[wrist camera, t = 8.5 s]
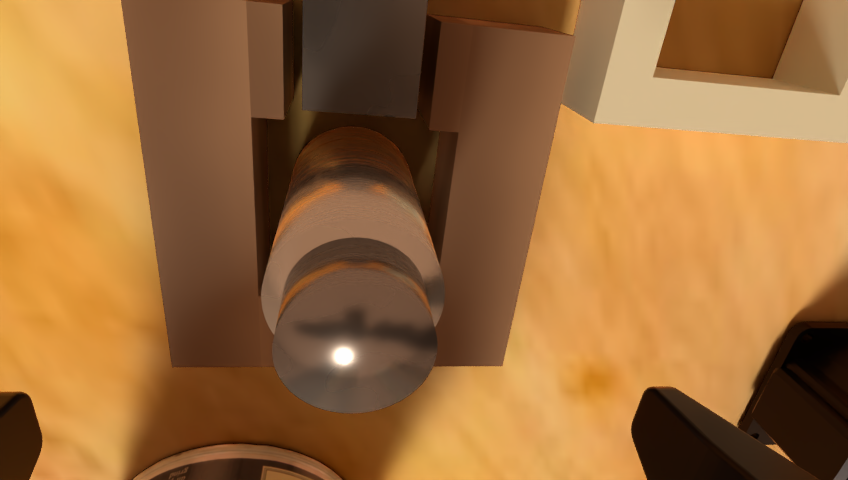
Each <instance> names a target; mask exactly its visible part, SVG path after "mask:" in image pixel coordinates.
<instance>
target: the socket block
mask: <svg viewBox="0 0 848 480" xmlns="http://www.w3.org/2000/svg"><path fill="white" fill-rule="evenodd" d="M121 3H122V10H123V17H124V24H125V32H126V39H127V46H128V53H129V60H130V68H131V75H132V82H133V89H134V96H135V104H136V111H137V118H138V125H139V132H140V139H141V147H142V154H143V161H144V168H145V175H146V183H147V190H148V197H149V204H150V211H151V219H152V226H153V233H154V240H155V247H156V254H157V262H158V269H159V276H160V283H161V290H162V298H163V305H164V312H165V319H166V326H167V334H168V341H169V348H170V355H171V362H172V367H274V363H273V357H272V344H273V339H274V334H273V333H272V331H271V330H270V328H269V326H268V324H267V322H266V319H265V316H264V313H263V309H262V302H261V291H262V284H263V279H264V275H265V272H266V268H267V264H268V261H269V257H270V227H269V191H268V155H267V119H281V120H284V118H285V116H286V114H287V111H288V109H289V107H290V104H291V102H292V100H293V98H294V75H293V0H121ZM575 37H576V36H572V35H569V34H565V33H562V32H558V31H554V30H551V29H547V28H544V27H539V26H529V25H520V24H511V23H502V22H493V21H484V20H475V19H466V18H457V17H448V16H439V15H430V14H427V15H426V25H425V35H424V45H423V55H422V65H421V75H420V85H419V94H418V104H417V108H418V110H419V112H420V114H421V116H422V118H423V119H424V121H425V123H426V125H427V127H428V129H429V130H432V131H440V133H439V142H438V150H437V158H436V166H435V174H434V182H433V190H432V199H431V207H430V215H429V223H428V230H429V233H430V237H431V240H432V243H433V246H434V249H435V252H436V256H437V259H438V262H439V265H440V268H441V271H442V275H443V279H444V285H445V300H444V306H443V310H442V313H441V316H440V319H439V321H438V323H437V325H436V326H435V331H436V335H437V343H438V347H437V355H436V360H435V363H434V365H433V366H502V365H503V360H504V356H505V351H506V347H507V342H508V338H509V333H510V329H511V325H512V320H513V316H514V311H515V307H516V302H517V298H518V293H519V289H520V284H521V280H522V275H523V271H524V266H525V262H526V257H527V253H528V248H529V244H530V239H531V235H532V230H533V226H534V221H535V217H536V212H537V208H538V203H539V199H540V194H541V190H542V185H543V181H544V177H545V172H546V168H547V163H548V159H549V154H550V150H551V145H552V141H553V136H554V132H555V127H556V123H557V118H558V114H559V109H560V105H561V100H562V96H563V91H564V87H565V82H566V78H567V73H568V69H569V64H570V60H571V55H572V51H573V46H574V42H575ZM266 118H267V119H266Z"/></svg>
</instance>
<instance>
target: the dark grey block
mask: <svg viewBox="0 0 848 480" xmlns="http://www.w3.org/2000/svg"><path fill="white" fill-rule="evenodd" d="M427 4H428V0H303V28H302V110H308V111H321V112H334V113H347V114H360V115H373V116H386V117H399V118H412V119H416V113H417V103H418V93H419V83H420V73H421V63H422V53H423V44H424V34H425V24H426V14H427Z"/></svg>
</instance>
